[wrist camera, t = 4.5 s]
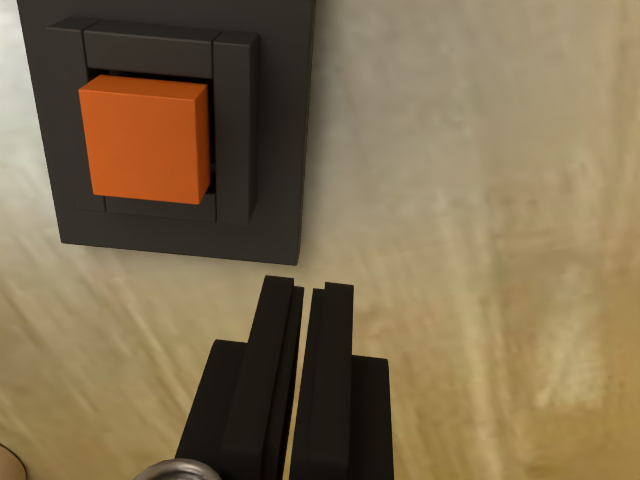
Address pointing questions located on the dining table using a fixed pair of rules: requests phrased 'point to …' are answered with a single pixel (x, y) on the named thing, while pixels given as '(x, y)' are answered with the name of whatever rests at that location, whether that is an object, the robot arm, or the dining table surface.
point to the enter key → (147, 138)
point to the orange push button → (224, 117)
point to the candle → (10, 466)
